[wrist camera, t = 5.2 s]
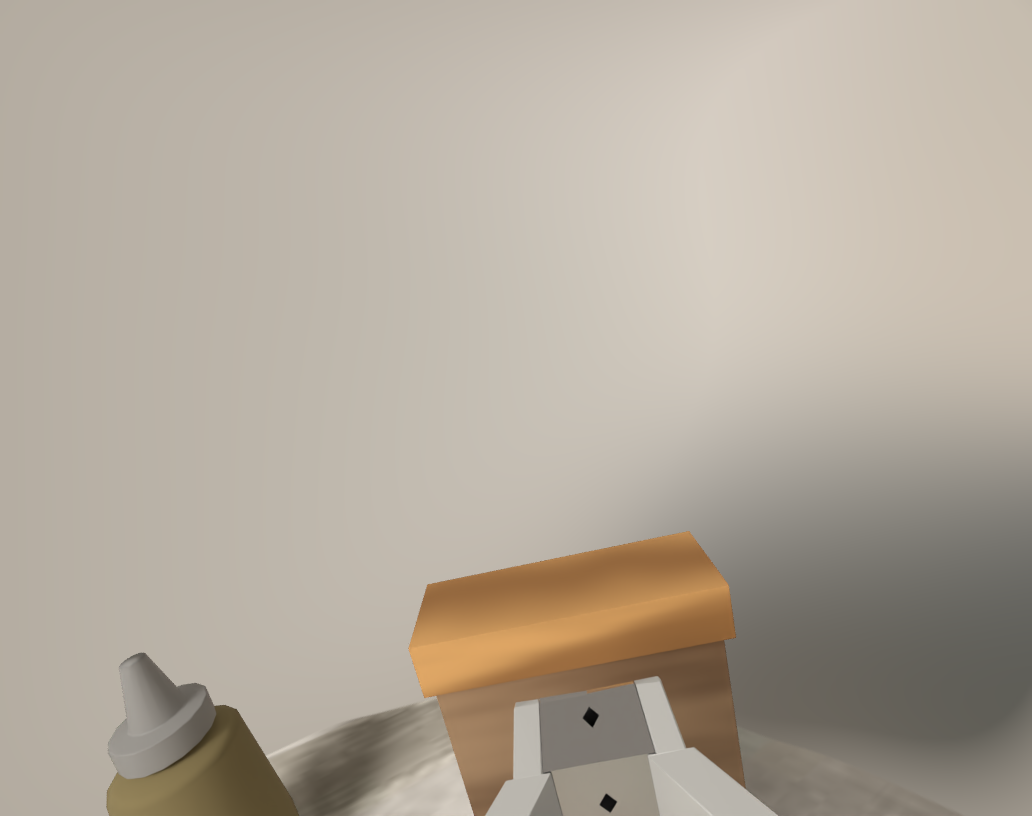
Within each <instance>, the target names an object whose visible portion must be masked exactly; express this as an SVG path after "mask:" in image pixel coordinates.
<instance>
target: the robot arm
mask: <svg viewBox="0 0 1032 816" xmlns="http://www.w3.org/2000/svg"><path fill="white" fill-rule="evenodd" d="M485 816H778V815H777V814H776V813H775V812H773V811H772V810H771V809H770V808H769V807H767V806H766V805H765V804H764V803H762V802H761V801H760V800H759V799H757V798H756V797H755V796H754V795H753V794H751V793H750V792H749V791H748V790H746V789H745V788H744V787H743V786H741V785H740V784H739V783H738V782H737V781H735V780H734V779H733V778H732V777H730V776H729V775H728V774H727V773H726V772H724V771H723V770H722V769H721V768H719V767H718V766H717V765H716V764H714V763H713V762H712V761H711V760H710V759H708V758H707V757H706V756H705V755H703V754H702V753H701V752H700V751H698V750H697V749H696V748H695V747H692V748H686V746H685V743H684V740H683V738H682V735H681V732H680V730H679V727H678V724H677V722H676V719H675V716H674V714H673V711H672V708H671V706H670V703H669V700H668V698H667V695H666V692H665V690H664V687H663V684H662V682H661V679H660V678H659V677H658V676H655V677H650V678H645V679H640V680H635V681H634V682H633V681H631V682H626V683H621V684H616V685H611V686H606V687H601V688H596V689H591V690H587V691H581V692H575V693H569V694H562V695H556V696H550V697H544V698H540V699H535V700H529V701H522V702H516V703H515V707H514V753H513V779H512V780H507V781H505V783H504V785H503V787H502V788H501V790H500V792H499V793H498V795H497V797H496V798H495V800H494V802H493V803H492V805H491V807H490V808H489V810H488V812H487V813H486V815H485Z"/></svg>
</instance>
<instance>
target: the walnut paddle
mask: <svg viewBox="0 0 1032 816" xmlns="http://www.w3.org/2000/svg"><path fill="white" fill-rule="evenodd" d="M733 620H734V619H733V612H732V605H731V598H730V591H729V585H728V584H727V582H726V581H725V580H724V578H723V577H722V575H721V574H720V573H719V571H718V570H717V568H716V567H715V566H714V564H713V563H712V562H711V560H710V559H709V558H708V557H707V555H706V554H705V552H704V551H703V550H702V548H701V547H700V546H699V544H698V543H697V541H696V540H695V539H694V537H693V536H692V535H691V533H690V532H689V531H687V532H683V533H678V534H673V535H668V536H663V537H658V538H653V539H648V540H643V541H638V542H634V543H628V544H623V545H619V546H614V547H609V548H604V549H599V550H594V551H589V552H584V553H579V554H575V555H570V556H565V557H560V558H555V559H550V560H545V561H540V562H536V563H531V564H526V565H521V566H516V567H511V568H506V569H501V570H496V571H492V572H487V573H482V574H477V575H472V576H467V577H462V578H457V579H453V580H447V581H443V582H438V583H433V584H428V585H427V588H426V591H425V595H424V598H423V601H422V605H421V608H420V612H419V615H418V618H417V622H416V625H415V628H414V632H413V635H412V639H411V642H410V645H409V652H410V655H411V658H412V661H413V664H414V667H415V670H416V673H417V677H418V679H419V683H420V686H421V689H422V692H423V695H424V698H426V697H432V696H437V699H438V702H439V705H440V709H441V712H442V715H443V718H444V721H445V724H446V728H447V731H448V734H449V737H450V740H451V743H452V747H453V750H454V753H455V756H456V759H457V762H458V766H459V769H460V772H461V775H462V778H463V781H464V785H465V788H466V791H467V794H468V797H469V800H470V804H471V807H472V810H473V813H474V816H485V815H486V813H487V812H488V810H489V808H490V807H491V805H492V803H493V802H494V800H495V798H496V797H497V795H498V793H499V792H500V790H501V788H502V787H503V785H504V783H505V781H507V780H512V779H513V753H514V707H515V703H516V702H522V701H529V700H535V699H540V698H544V697H550V696H556V695H562V694H569V693H575V692H581V691H587V690H591V689H596V688H601V687H606V686H611V685H616V684H621V683H626V682H631V681H633V682H634V681H635V680H640V679H645V678H650V677H655V676H658V677H659V678H660V679H661V682H662V684H663V687H664V690H665V692H666V695H667V698H668V700H669V703H670V706H671V708H672V711H673V714H674V716H675V719H676V722H677V724H678V727H679V730H680V732H681V735H682V738H683V740H684V743H685V746H686V748H692V747H695V748H696V749H697V750H698V751H700V752H701V753H702V754H703V755H705V756H706V757H707V758H708V759H710V760H711V761H712V762H713V763H714V764H716V765H717V766H718V767H719V768H721V769H722V770H723V771H724V772H726V773H727V774H728V775H729V776H730V777H732V778H733V779H734V780H735V781H737V782H738V783H739V784H740V785H741V786H743V787H744V788H745V781H744V774H743V767H742V760H741V753H740V746H739V739H738V732H737V726H736V719H735V712H734V705H733V698H732V691H731V684H730V677H729V671H728V664H727V657H726V650H725V643H724V640H727V639H732V638H736V634H735V627H734V621H733ZM745 789H746V788H745Z"/></svg>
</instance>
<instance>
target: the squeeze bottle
mask: <svg viewBox="0 0 1032 816" xmlns="http://www.w3.org/2000/svg"><path fill="white" fill-rule="evenodd" d="M119 671H120V677H121V684H122V690H123V697H124V704H125V710H126V717H127V718H126V719H125V721H123V722H122V724H121V725H119V726H118V727H117V729H116V731H115V732H114V734H113V735H112V737H111V739H110V741H109V743H108V754H109V756H110V758H111V760H112V762H113V764H114V765H115V767H116V769H117V771H118V772H117V774H116V776H115V778H114V780H113V781H112V783H111V785H110V787H109V788H108V790H107V810H108V813H109V816H299V814H298V812H297V809H296V807H295V805H294V802H293V800H292V798H291V796H290V795H289V793H288V791H287V790H286V788H285V787H284V785H283V783H282V782H281V780H280V778H279V777H278V775H277V774H276V772H275V770H274V769H273V767H272V766H271V764H270V762H269V761H268V759H267V757H266V756H265V754H264V753H263V751H262V749H261V748H260V746H259V745H258V743H257V741H256V740H255V738H254V736H253V735H252V733H251V732H250V730H249V729H248V727H247V725H246V724H245V722H244V720H243V719H242V717H241V716H240V714H239V712H238V711H237V709H234V708H232V707H229V706H226V705H220V706H214V705H213V702H212V700H211V698H210V696H209V694H208V691H207V689H206V687H205V686H203V685H200V684H197V683H192V684H186V685H181V686H178V687H176V686H175V685H174V683H172V681H171V680H170V679H169V678H168V677H167V676H166V675H165V674H164V673H163V672H162V671H161V670H160V669H159V668H158V666H157V665H156V664H155V663H153V661H152V660H151V659H150V658H149V657H148V656H147V655H146V654H145V653H138V654H136V655H133V656H131V657H130V658H128V659H127V660H125V661H124V662H123V663H122V664H121V665H120V666H119Z"/></svg>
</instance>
